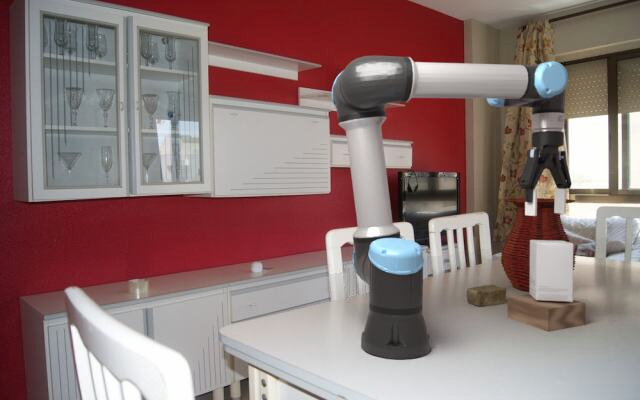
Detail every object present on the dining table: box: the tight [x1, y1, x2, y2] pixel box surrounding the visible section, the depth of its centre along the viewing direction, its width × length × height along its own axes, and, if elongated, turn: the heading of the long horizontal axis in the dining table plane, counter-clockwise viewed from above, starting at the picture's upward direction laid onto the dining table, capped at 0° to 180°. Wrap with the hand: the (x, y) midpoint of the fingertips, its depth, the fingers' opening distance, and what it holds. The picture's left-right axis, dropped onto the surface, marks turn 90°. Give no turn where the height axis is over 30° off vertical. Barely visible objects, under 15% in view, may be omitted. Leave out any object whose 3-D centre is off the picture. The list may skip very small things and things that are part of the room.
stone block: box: [466, 284, 507, 308], centre depth 148 cm, size 6×12×5 cm, turn 117°
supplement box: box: [529, 240, 574, 302], centre depth 130 cm, size 9×9×15 cm
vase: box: [500, 197, 577, 292], centre depth 166 cm, size 23×24×30 cm
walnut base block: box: [507, 293, 586, 333], centre depth 129 cm, size 13×13×6 cm
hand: (545, 214), depth 128 cm, fingers open, 13 cm apart
